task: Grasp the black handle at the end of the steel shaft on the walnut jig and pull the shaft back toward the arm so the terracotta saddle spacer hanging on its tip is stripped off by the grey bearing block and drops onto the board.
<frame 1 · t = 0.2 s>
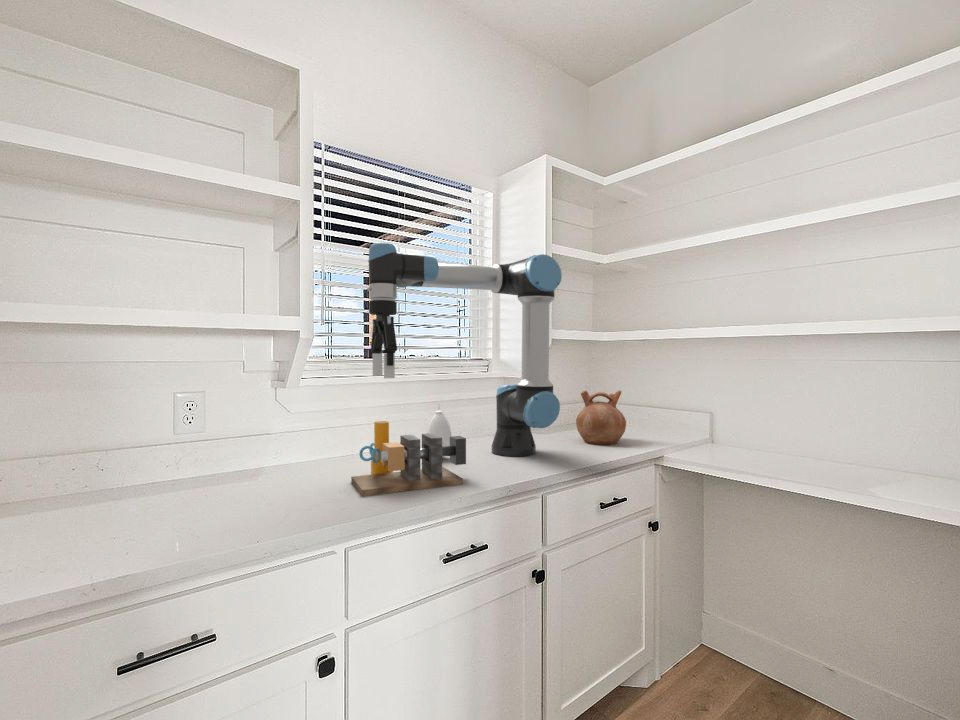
hand: (383, 377, 140), 27 cm above the worktop, fingers open, 13 cm apart
shaft: (423, 453, 134), point 7 cm above the worktop, slide at 0.0 cm, touching spacer
spacer: (393, 467, 131), point 4 cm above the worktop, touching shaft
jug: (600, 442, 192), on the worktop
cylinder: (382, 476, 140), on the worktop
jig: (406, 483, 132), on the worktop
sauce bottle: (439, 459, 163), on the worktop
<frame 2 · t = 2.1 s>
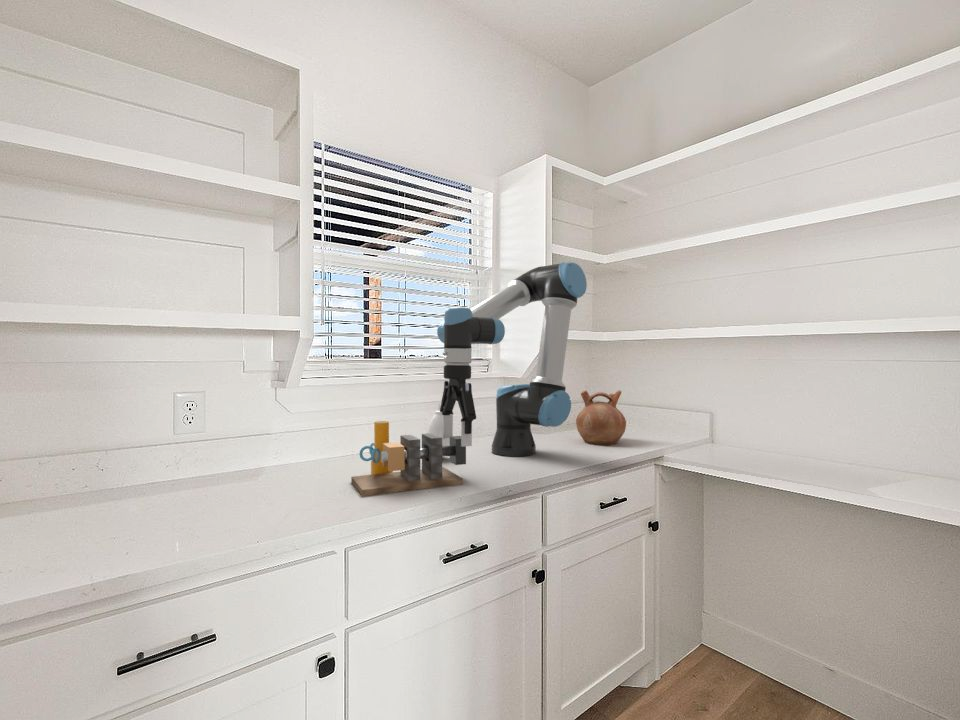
hand: (456, 442, 138), 10 cm above the worktop, fingers open, 13 cm apart
nothing on the worktop moved.
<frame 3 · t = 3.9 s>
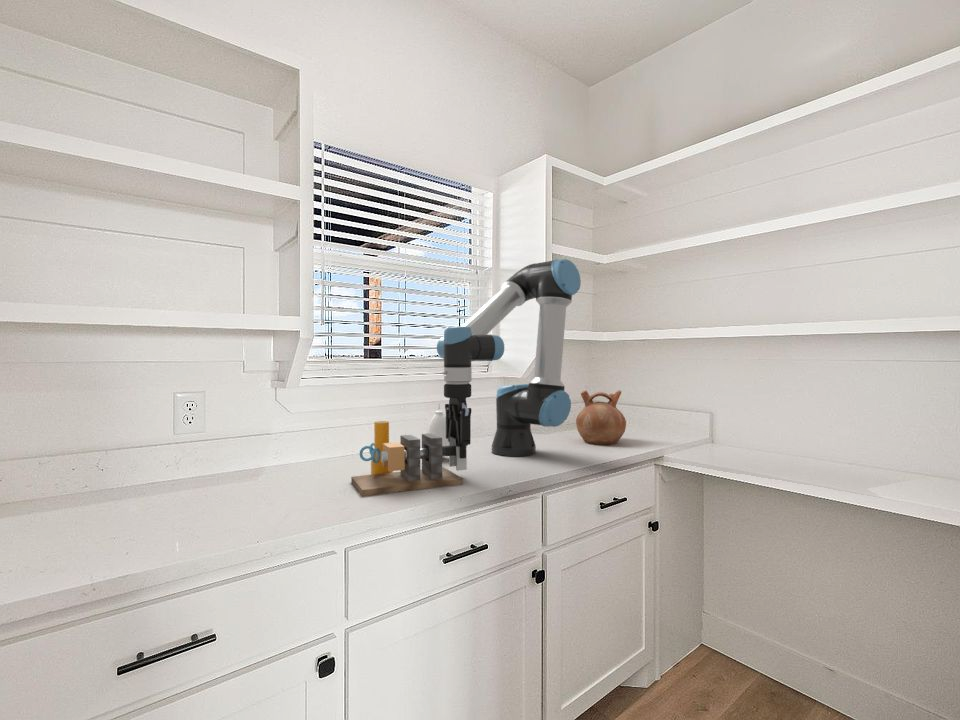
hand: (457, 467, 138), 3 cm above the worktop, fingers closed on shaft, 4 cm apart
shaft: (423, 453, 134), point 7 cm above the worktop, slide at 0.0 cm, touching gripper, spacer
everything else where it was.
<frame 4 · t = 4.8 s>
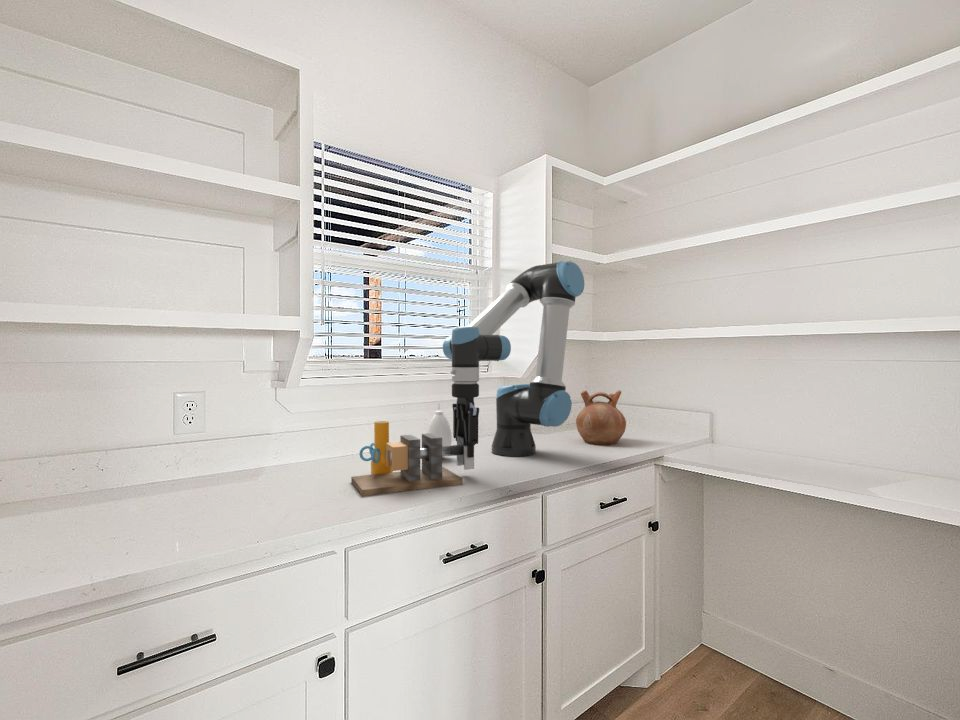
hand: (465, 466, 139), 3 cm above the worktop, fingers closed on shaft, 4 cm apart
shaft: (431, 452, 135), point 7 cm above the worktop, slide at 2.3 cm, touching gripper
spacer: (397, 467, 131), point 4 cm above the worktop
everything else where it was.
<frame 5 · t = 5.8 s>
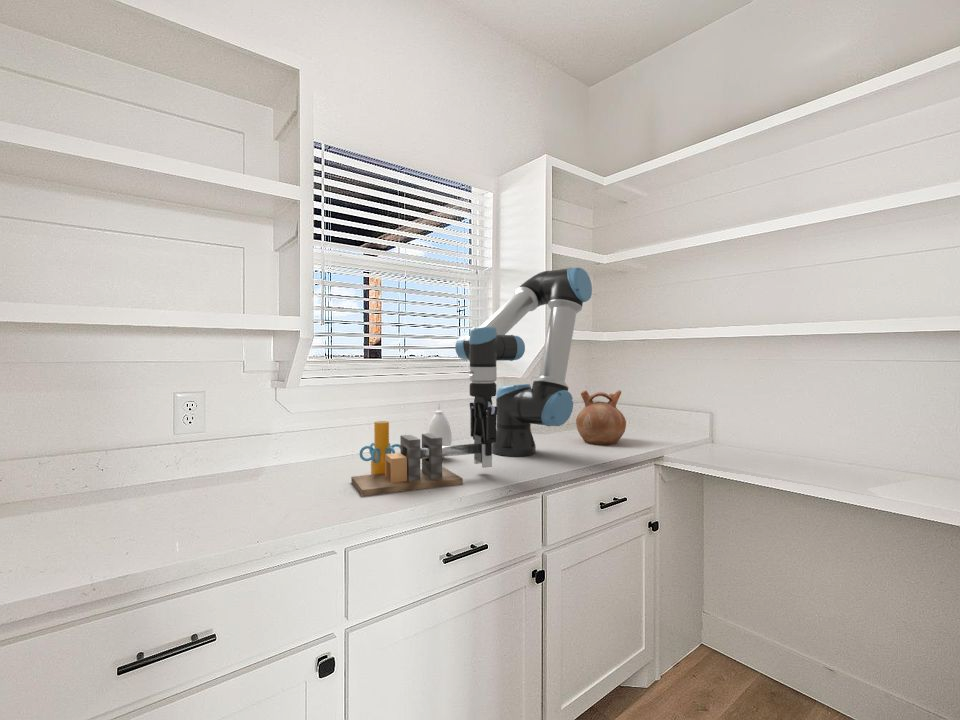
hand: (482, 464, 141), 3 cm above the worktop, fingers closed on shaft, 4 cm apart
shaft: (450, 450, 137), point 7 cm above the worktop, slide at 7.6 cm, touching gripper
spacer: (396, 478, 131), point 1 cm above the worktop, touching jig
everything else where it was.
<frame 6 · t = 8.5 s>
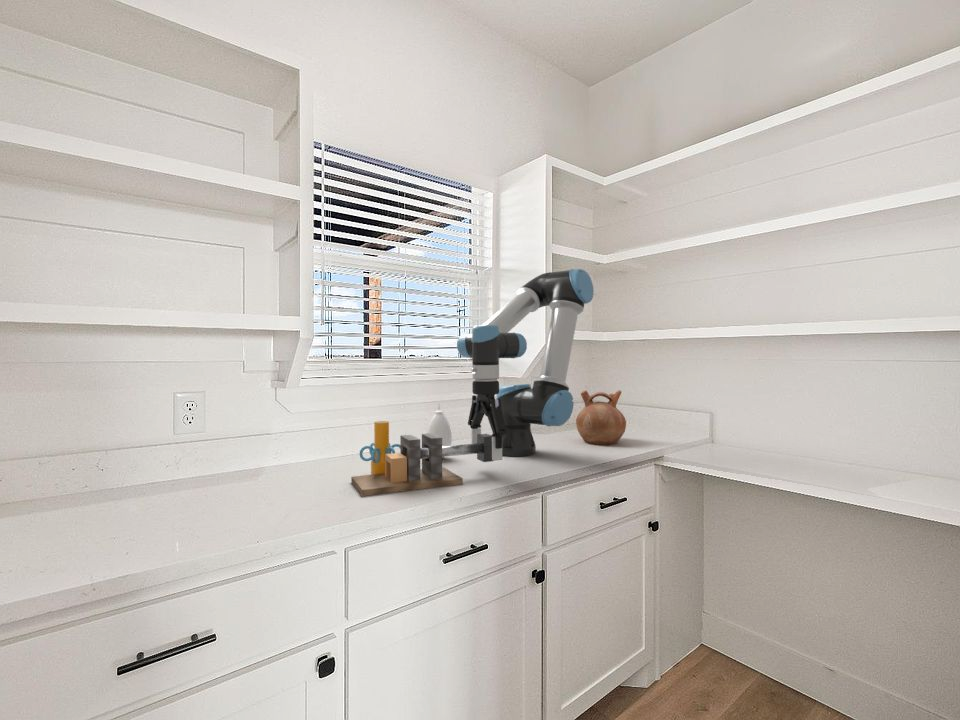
hand: (486, 455, 142), 5 cm above the worktop, fingers open, 13 cm apart
shaft: (453, 450, 138), point 7 cm above the worktop, slide at 8.4 cm
everything else where it was.
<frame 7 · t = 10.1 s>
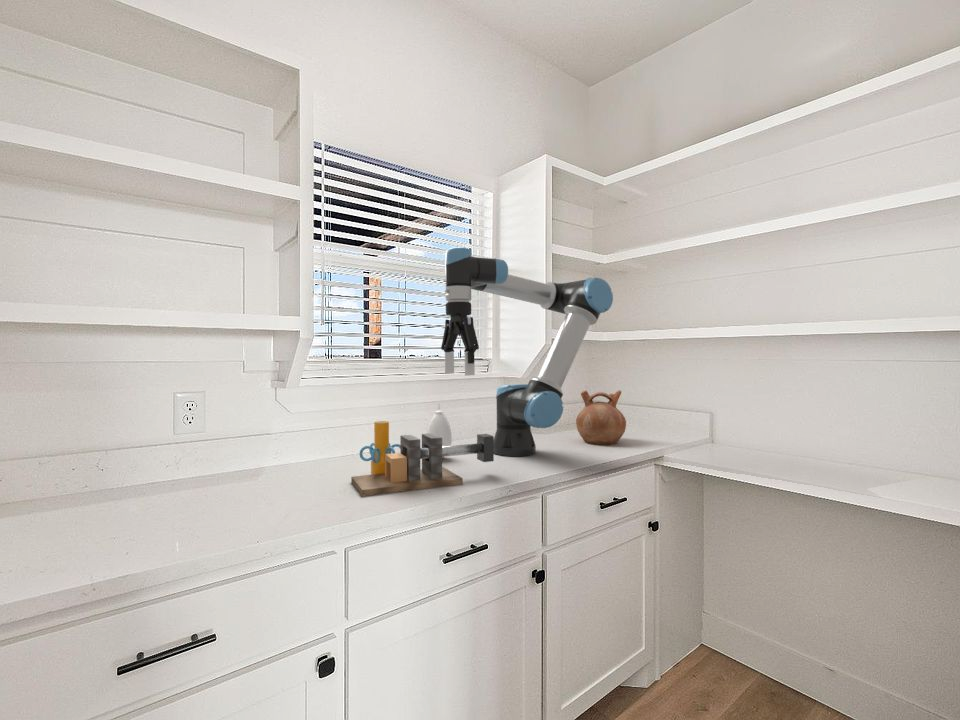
hand: (459, 374, 148), 28 cm above the worktop, fingers open, 13 cm apart
nothing on the worktop moved.
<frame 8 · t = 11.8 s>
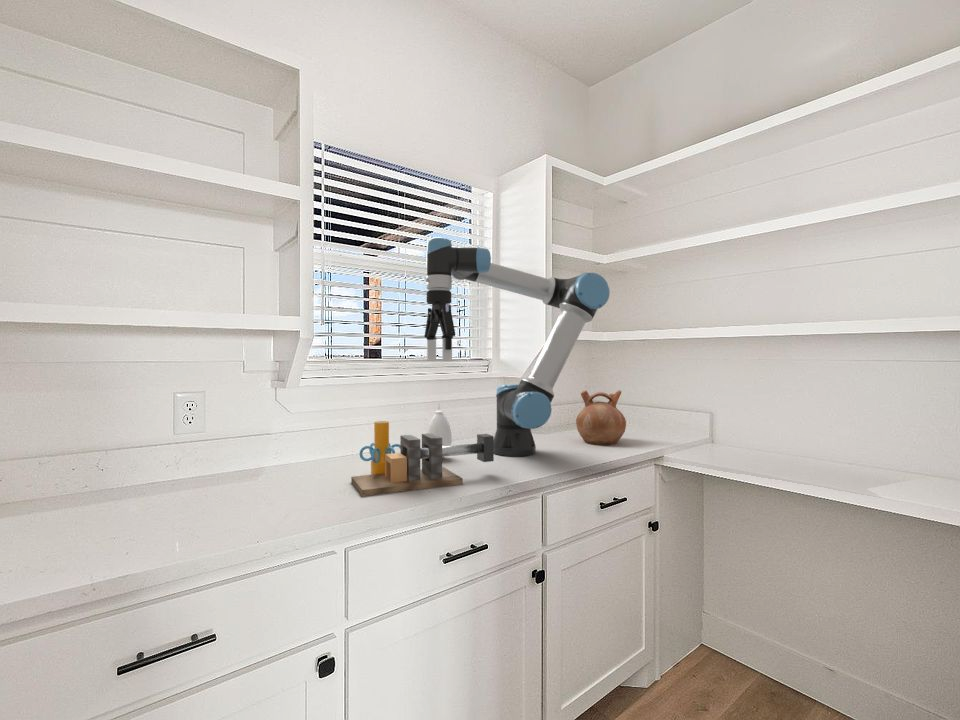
hand: (439, 361, 152), 32 cm above the worktop, fingers open, 13 cm apart
nothing on the worktop moved.
at the end: shaft slide at 8.4 cm; spacer touching jig; spacer inside the target area on the jig (3.2 cm from its centre), point 1.5 cm above the jig's base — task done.
